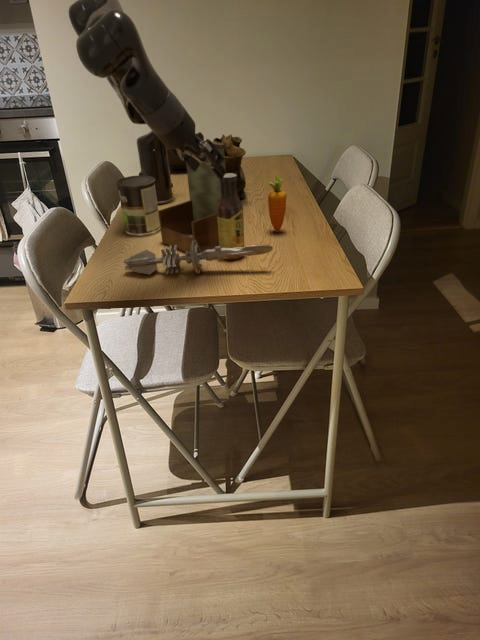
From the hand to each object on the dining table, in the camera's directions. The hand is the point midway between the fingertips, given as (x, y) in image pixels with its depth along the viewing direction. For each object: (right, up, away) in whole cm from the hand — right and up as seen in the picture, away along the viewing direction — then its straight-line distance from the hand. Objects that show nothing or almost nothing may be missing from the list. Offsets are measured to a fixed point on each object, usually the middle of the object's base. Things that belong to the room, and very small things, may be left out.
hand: (209, 171), depth 104 cm
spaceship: (-3, -21, +7) cm, 23 cm away
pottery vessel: (+3, +9, +55) cm, 56 cm away
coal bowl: (-17, +29, +89) cm, 95 cm away
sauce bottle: (+5, -17, +14) cm, 23 cm away
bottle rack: (-5, -12, +22) cm, 26 cm away
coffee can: (-21, -7, +32) cm, 39 cm away
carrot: (+17, -9, +26) cm, 33 cm away
